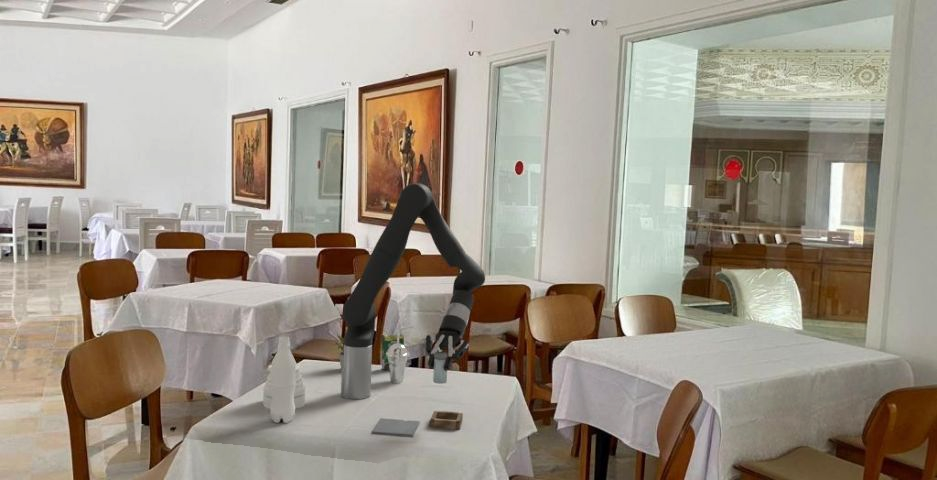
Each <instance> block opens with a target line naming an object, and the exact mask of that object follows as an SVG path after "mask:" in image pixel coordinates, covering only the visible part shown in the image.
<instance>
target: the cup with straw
mask: <svg viewBox="0 0 937 480" xmlns="http://www.w3.org/2000/svg"><path fill="white" fill-rule="evenodd" d="M409 329H414V326H413V325H410V326H406V327H401V328H398V330H397V332H396V333H397V334H396V335H397V343H395V344H393V345H391V346H390V348H389V350H388V351H387V352H386V355H387V356H388V361H389V370H388V371H389V379H390V383H393V384H402V383H403V382H404V378H405V372H406V371H405V370H406V365H407V361H408V357H409V356H410V355H411V354H410V352H409V351H408V349H407V347H406V346H405V344H404V345H403V344H401V343H399V334H400V332H401V331H403V330H405V331H406V330H409Z"/></svg>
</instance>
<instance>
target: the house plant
mask: <svg viewBox="0 0 937 480" xmlns="http://www.w3.org/2000/svg"><path fill="white" fill-rule="evenodd" d="M347 329H348V326H345V331H344V336H345V335H346V332H347ZM330 330H331V331H332V329H330ZM333 331H334V333H336V334H333V333H332V335H333V336H334V335H335V336H336V338H338V339H339V340H340V341H333V342H334V344H332V345H331V346H335V345H336V346H338V347H337V348H336V350H339V349H340V351H339V353H338V355H339V364H340V371H342V368H343V365H344V338H343V337H342V336H341V334H340V333H339V332H338V331H337V330H334V329H333Z"/></svg>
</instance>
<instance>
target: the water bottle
mask: <svg viewBox="0 0 937 480" xmlns="http://www.w3.org/2000/svg"><path fill="white" fill-rule="evenodd" d="M278 341H279V342H278V344H277V347H278V346H279V349H278V348H277V352H276V353H275V356H274V357H273V359H272V361H271V364H270V365H271V367H272V368H271V369H272V374H271V389H272V403H271V407H270V409H269V410H270V411H269V414H270V417H271V419H272V421H273V422H274V423H276V424H279V423H280V422H281V420H282V421H283V423H284V424H287V423H290V422H291V421H293V419H294V418H295V414H296V409H295V404H294V390H295V386H296V382H295V376H296V364H297V362H296V360H295V358H294V357H295V356H294V355H293V352H292V350H291V347H290V346H291V342H290V336H279V338H278Z"/></svg>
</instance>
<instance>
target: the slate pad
mask: <svg viewBox="0 0 937 480" xmlns="http://www.w3.org/2000/svg"><path fill="white" fill-rule="evenodd" d="M420 424H421V421H419V420H408V419H396V418H395V419H394V418H384V417H383V418H382V417H380V418H379V420H378V421H377V423H376V425H375V426H374V427H373V429H372V430H371V434H373V435H387V436H388V435H389V436H401V437H402V436H403V437H414V435H415V433H416V431H417V429H418V427H419V426H420Z"/></svg>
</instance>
